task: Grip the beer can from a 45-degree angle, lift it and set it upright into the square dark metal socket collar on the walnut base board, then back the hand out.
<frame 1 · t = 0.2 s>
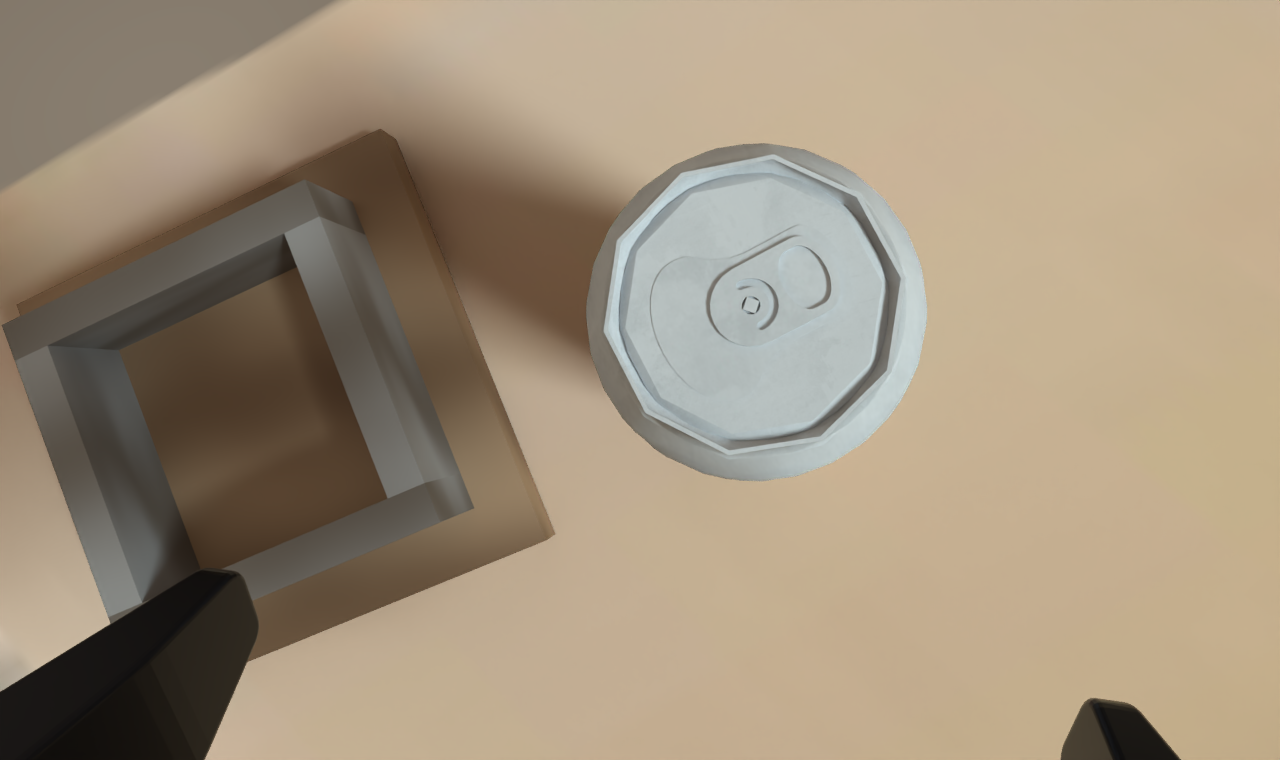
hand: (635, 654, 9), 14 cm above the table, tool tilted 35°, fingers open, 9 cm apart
beer can: (756, 350, 23), on the table
socket board: (288, 415, 25), on the table
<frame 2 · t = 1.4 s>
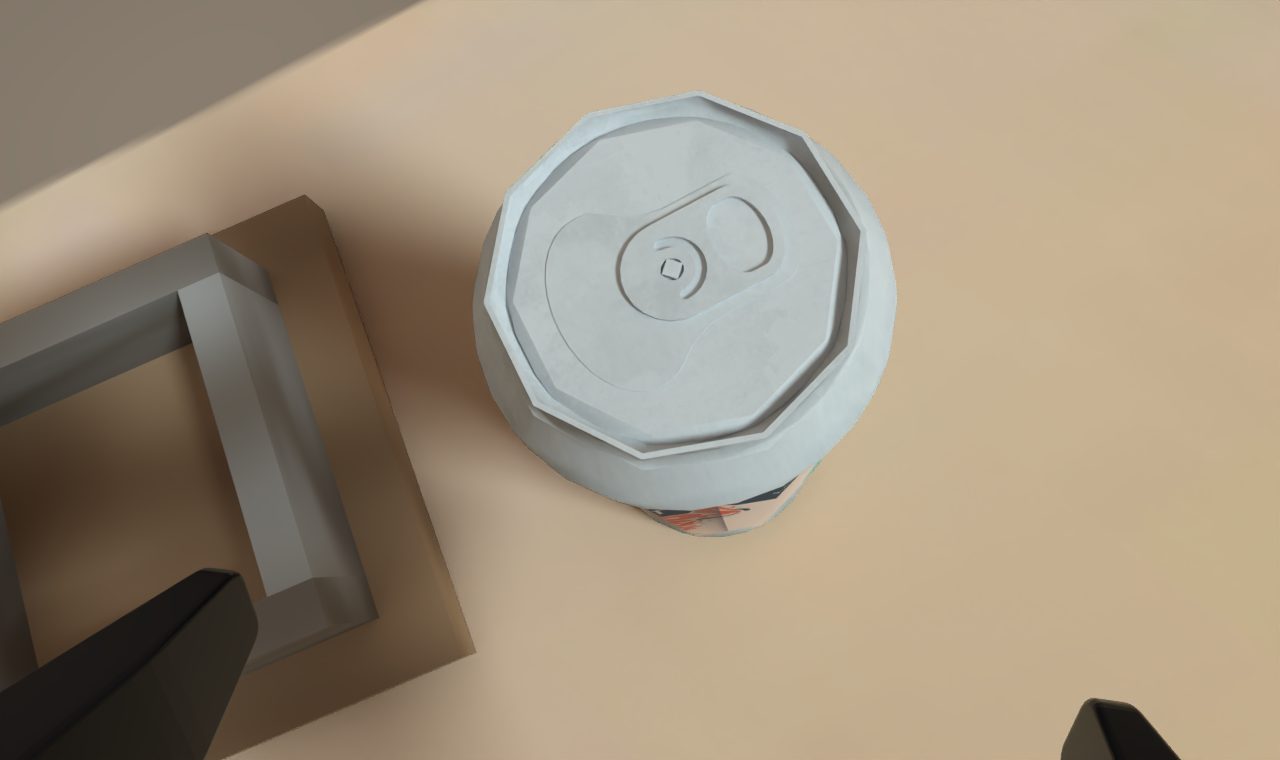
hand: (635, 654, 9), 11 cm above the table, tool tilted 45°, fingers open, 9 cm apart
beer can: (712, 435, 21), on the table
socket board: (174, 511, 22), on the table
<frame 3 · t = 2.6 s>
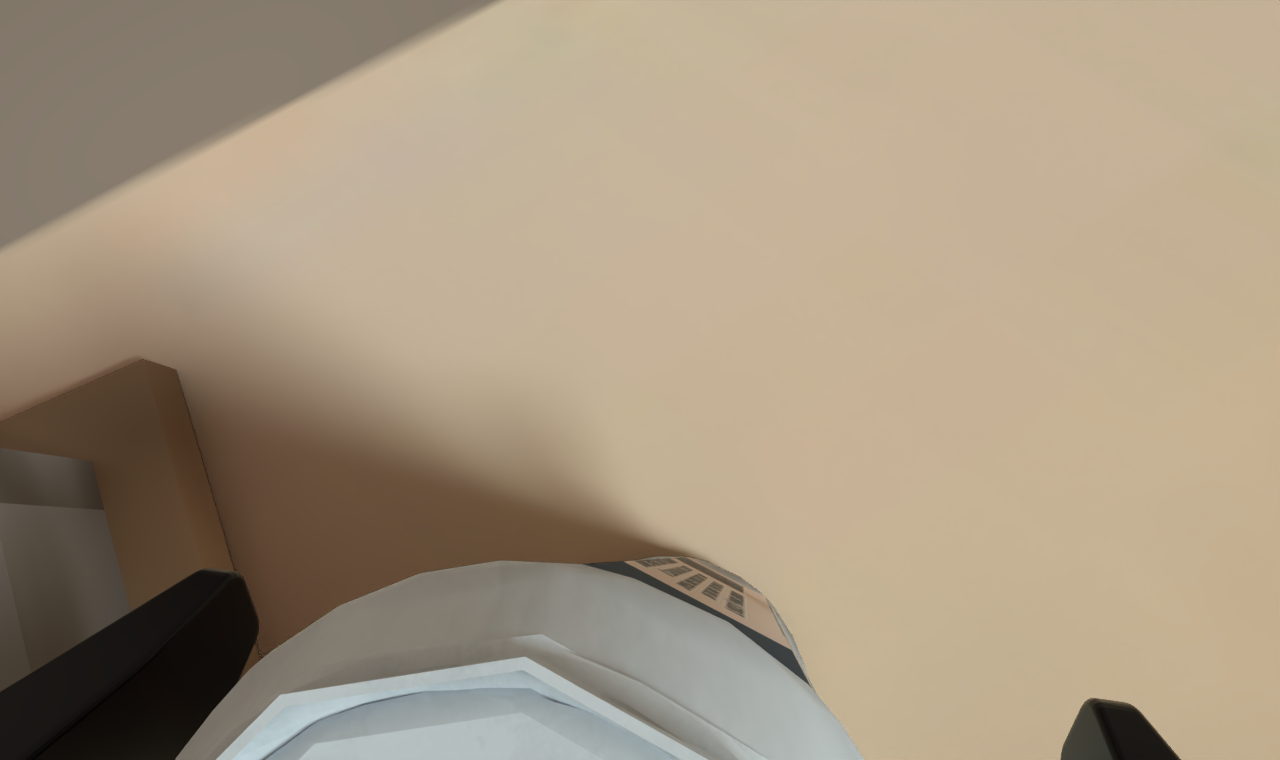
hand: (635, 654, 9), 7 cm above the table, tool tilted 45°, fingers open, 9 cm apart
beer can: (671, 691, 16), on the table
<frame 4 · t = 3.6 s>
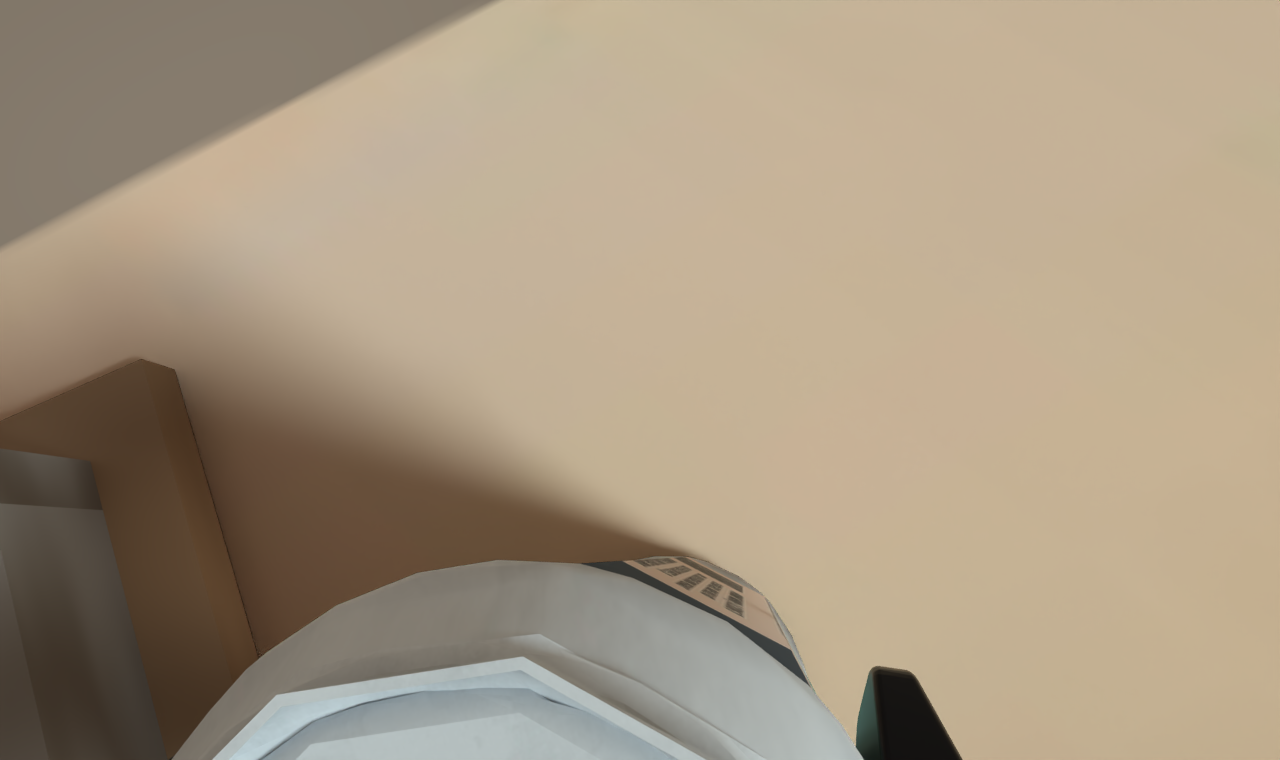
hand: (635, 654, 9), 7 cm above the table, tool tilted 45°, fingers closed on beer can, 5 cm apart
beer can: (671, 691, 16), on the table, touching gripper
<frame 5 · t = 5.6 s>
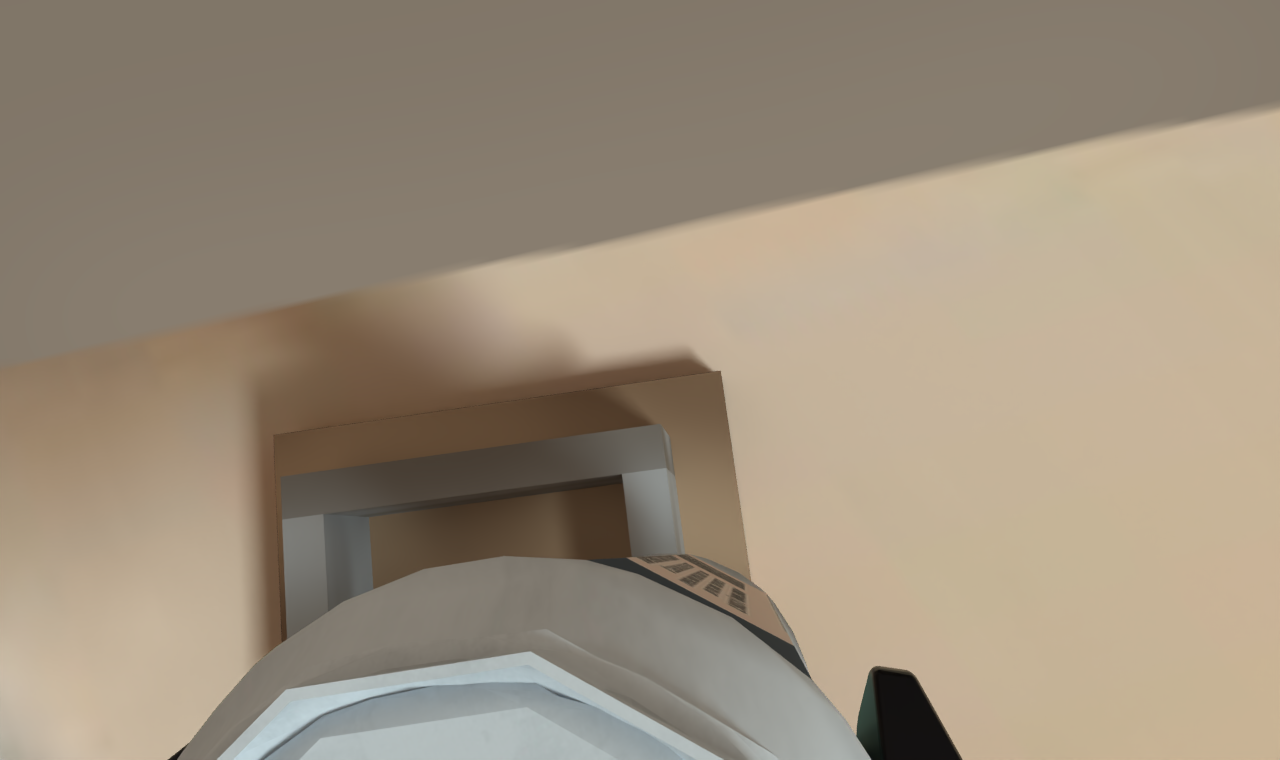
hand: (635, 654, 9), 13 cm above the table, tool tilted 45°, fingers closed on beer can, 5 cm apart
beer can: (673, 688, 16), point 6 cm above the table, touching gripper
socket board: (523, 637, 22), on the table
when the fingers open (9 cm above the table, at t = 7.9 s): beer can stays where it is, resting on socket board.
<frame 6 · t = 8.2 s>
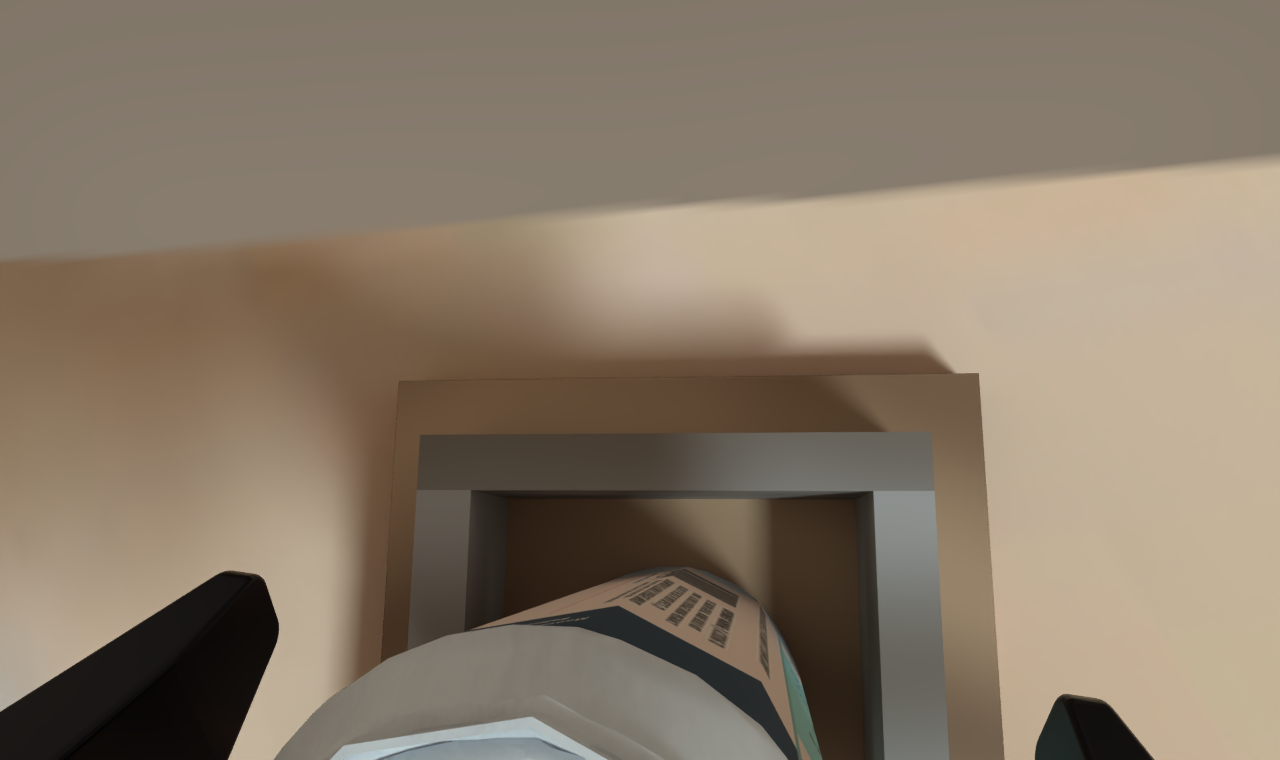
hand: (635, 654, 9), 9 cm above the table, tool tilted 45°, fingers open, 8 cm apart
beer can: (675, 689, 17), point 1 cm above the table, touching socket board
socket board: (680, 674, 18), on the table
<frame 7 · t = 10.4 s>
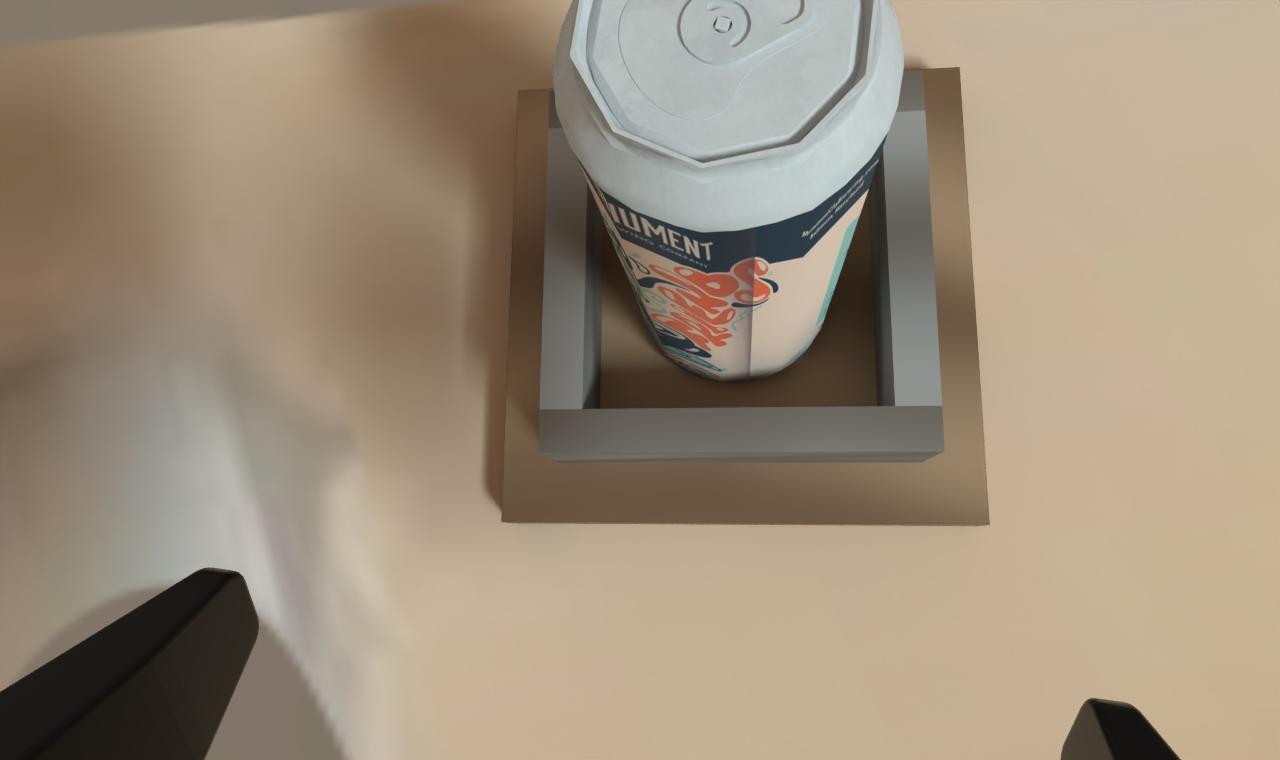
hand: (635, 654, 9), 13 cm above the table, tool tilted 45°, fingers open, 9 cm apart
beer can: (733, 299, 23), point 1 cm above the table, touching socket board
socket board: (735, 300, 24), on the table
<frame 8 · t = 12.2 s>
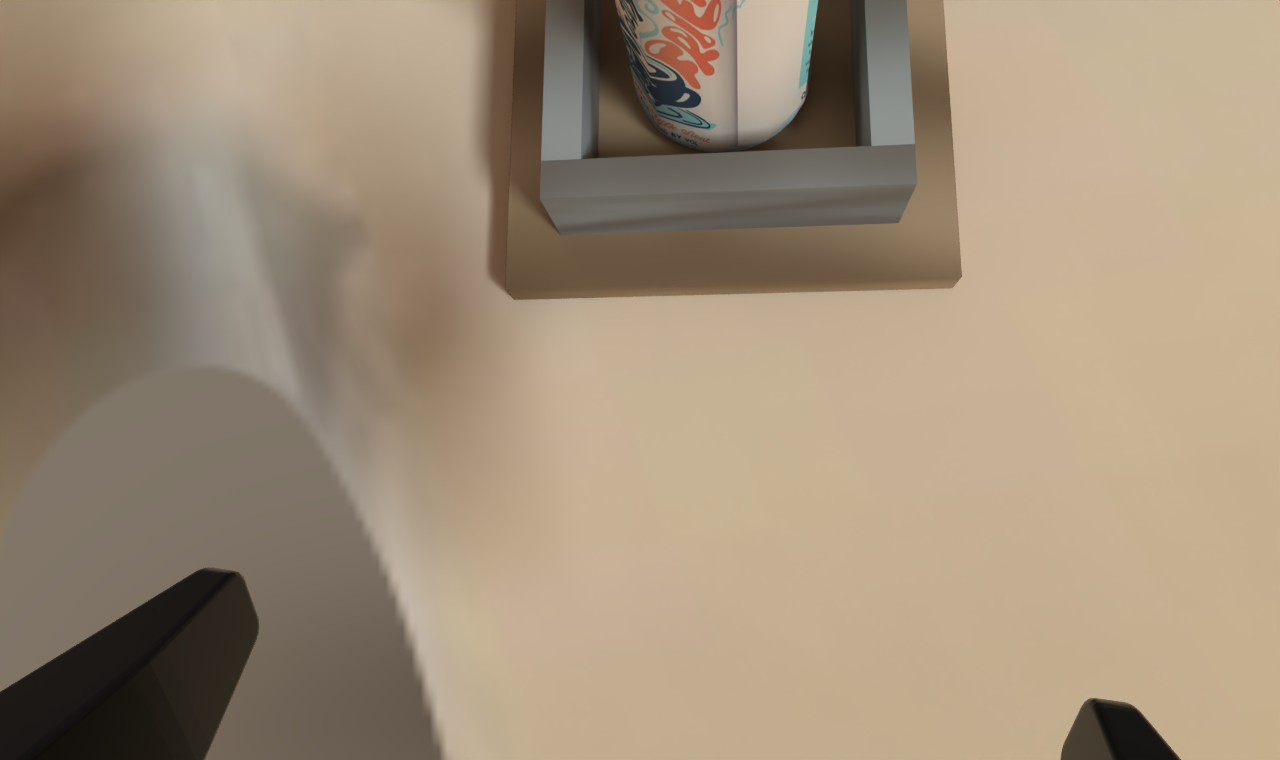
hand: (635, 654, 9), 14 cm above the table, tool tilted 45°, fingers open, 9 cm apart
beer can: (722, 85, 24), point 1 cm above the table, touching socket board
socket board: (724, 94, 25), on the table
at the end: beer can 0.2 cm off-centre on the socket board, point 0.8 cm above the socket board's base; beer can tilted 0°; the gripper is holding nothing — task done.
